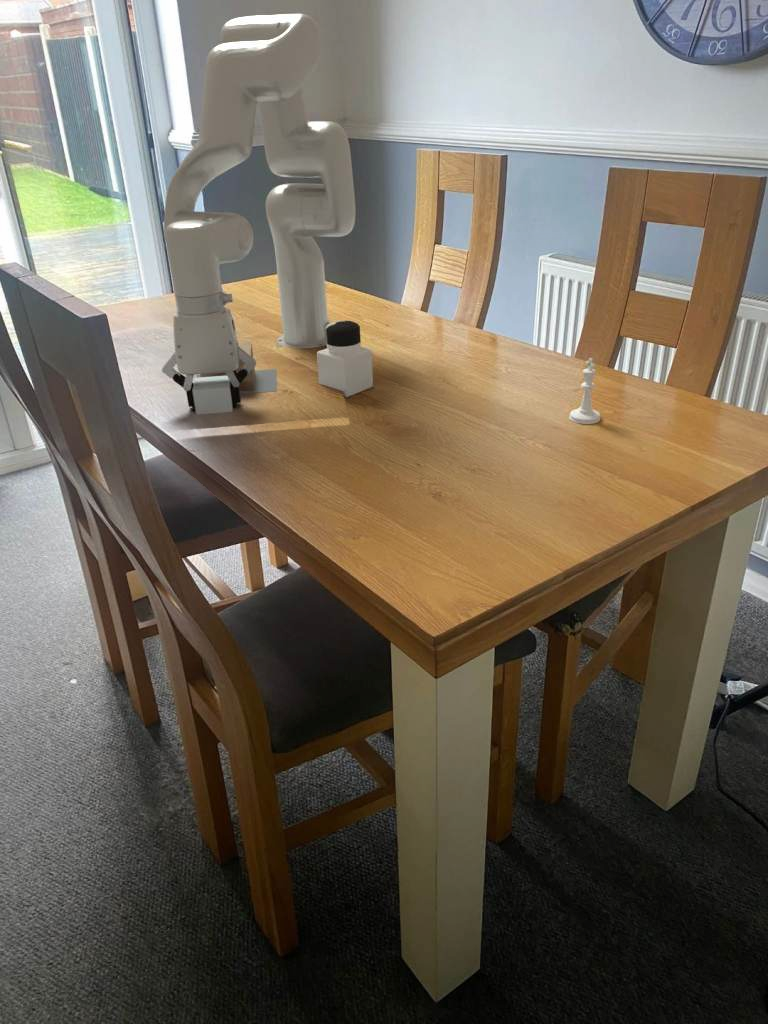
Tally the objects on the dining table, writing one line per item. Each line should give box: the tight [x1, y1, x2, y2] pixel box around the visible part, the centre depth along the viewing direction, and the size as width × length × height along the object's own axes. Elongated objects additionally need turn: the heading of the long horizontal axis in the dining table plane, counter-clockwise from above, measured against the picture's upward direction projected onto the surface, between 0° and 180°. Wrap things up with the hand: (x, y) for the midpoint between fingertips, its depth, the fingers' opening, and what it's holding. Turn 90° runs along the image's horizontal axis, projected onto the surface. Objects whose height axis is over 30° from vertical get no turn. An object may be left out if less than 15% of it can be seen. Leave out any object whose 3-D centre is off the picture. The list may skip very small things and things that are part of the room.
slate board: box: [195, 368, 278, 395], centre depth 145 cm, size 15×12×1 cm
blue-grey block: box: [192, 376, 234, 415], centre depth 134 cm, size 6×6×6 cm
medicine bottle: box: [316, 320, 374, 398], centre depth 140 cm, size 7×7×12 cm
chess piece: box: [568, 357, 601, 425], centre depth 125 cm, size 5×5×10 cm
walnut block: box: [199, 341, 255, 391], centre depth 143 cm, size 9×9×6 cm
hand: (215, 407), depth 135 cm, fingers closed on blue-grey block, 6 cm apart
